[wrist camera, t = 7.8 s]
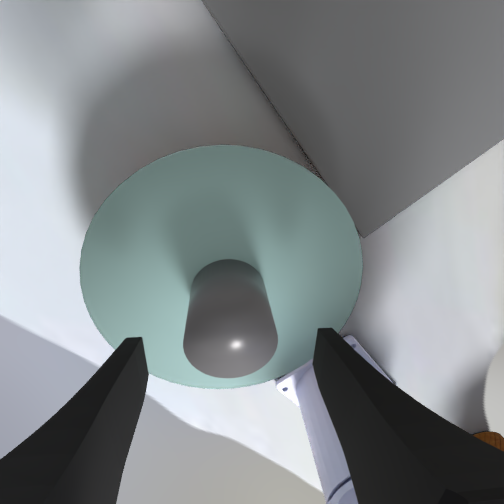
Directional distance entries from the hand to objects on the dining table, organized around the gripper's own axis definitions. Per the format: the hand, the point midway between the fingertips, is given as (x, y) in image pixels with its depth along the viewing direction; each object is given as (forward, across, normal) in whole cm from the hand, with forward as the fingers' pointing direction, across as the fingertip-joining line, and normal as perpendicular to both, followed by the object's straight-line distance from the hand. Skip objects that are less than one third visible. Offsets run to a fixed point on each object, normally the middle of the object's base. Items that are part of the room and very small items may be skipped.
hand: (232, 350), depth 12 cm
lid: (+5, 0, 0) cm, 5 cm away
